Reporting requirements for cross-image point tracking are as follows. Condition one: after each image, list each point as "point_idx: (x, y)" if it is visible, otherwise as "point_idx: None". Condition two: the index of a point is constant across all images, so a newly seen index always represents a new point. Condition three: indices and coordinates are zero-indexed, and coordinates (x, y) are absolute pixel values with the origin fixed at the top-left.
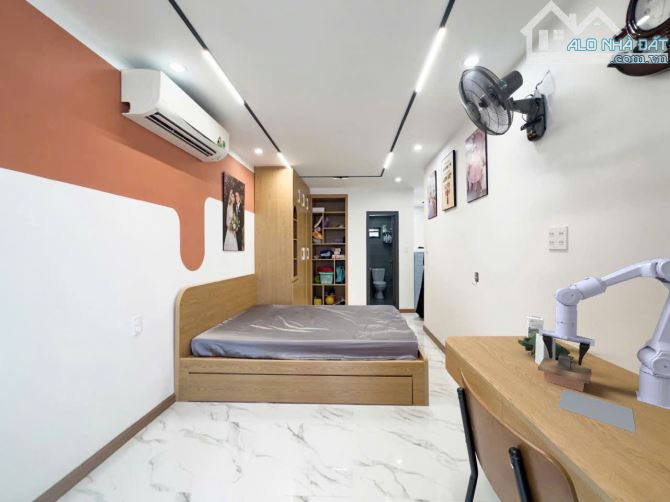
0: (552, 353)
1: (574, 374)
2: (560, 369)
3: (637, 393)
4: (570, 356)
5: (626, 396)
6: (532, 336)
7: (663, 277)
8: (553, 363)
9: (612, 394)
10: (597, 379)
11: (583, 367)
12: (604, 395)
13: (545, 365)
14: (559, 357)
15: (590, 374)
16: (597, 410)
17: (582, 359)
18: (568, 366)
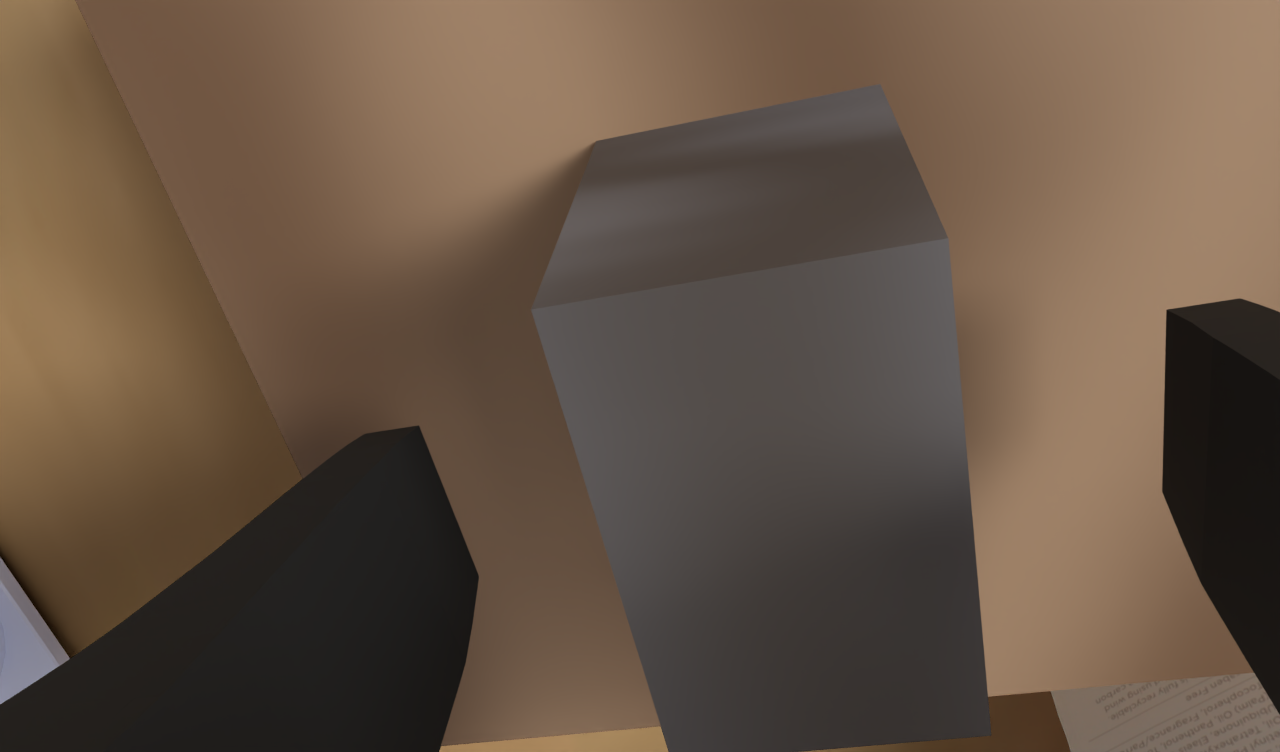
0: (1220, 597)
1: (430, 16)
2: (810, 76)
3: (26, 635)
4: (671, 700)
5: (60, 468)
6: None
7: None
8: (1068, 423)
9: (158, 372)
10: (510, 748)
11: (540, 710)
12: (174, 211)
13: (1243, 11)
14: (902, 242)
15: (280, 424)
16: None
17: (205, 565)
18: (606, 189)
